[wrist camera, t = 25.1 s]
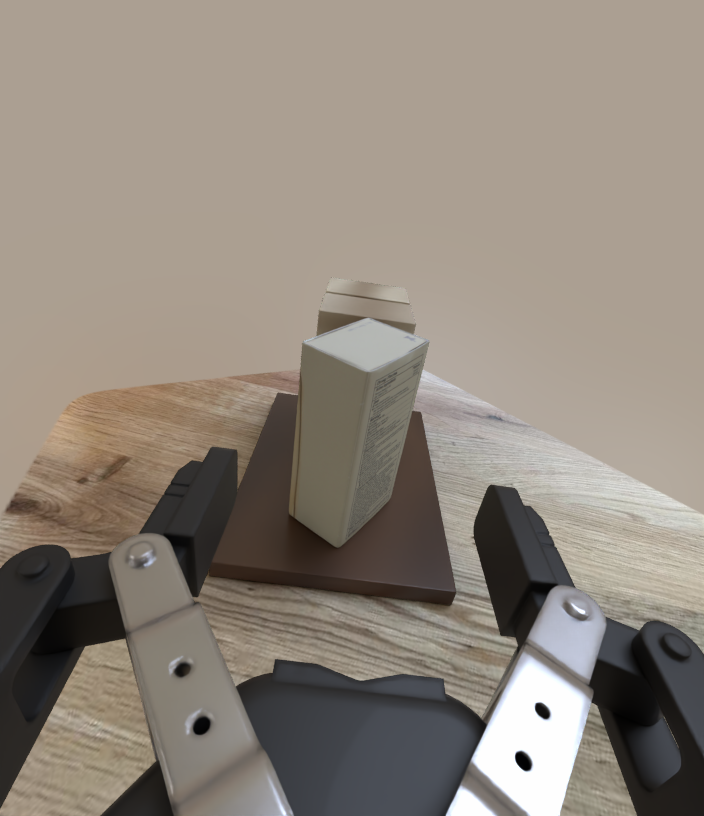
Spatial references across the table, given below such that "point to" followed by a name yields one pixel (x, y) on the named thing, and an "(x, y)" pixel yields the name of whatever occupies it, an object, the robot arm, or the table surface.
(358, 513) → the cosmetic box
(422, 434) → the rack
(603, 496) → the table surface
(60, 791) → the table surface
